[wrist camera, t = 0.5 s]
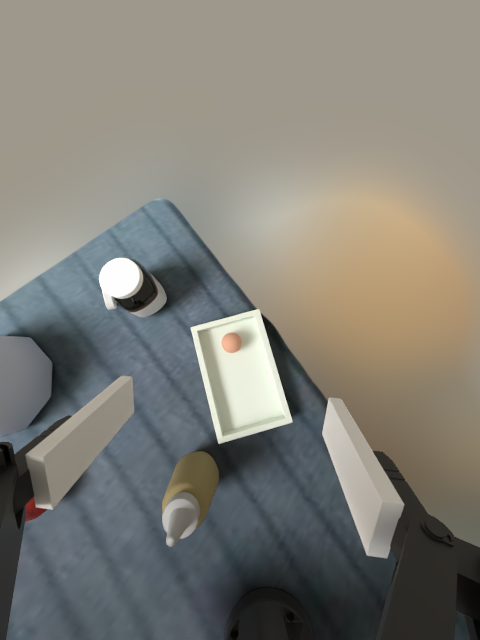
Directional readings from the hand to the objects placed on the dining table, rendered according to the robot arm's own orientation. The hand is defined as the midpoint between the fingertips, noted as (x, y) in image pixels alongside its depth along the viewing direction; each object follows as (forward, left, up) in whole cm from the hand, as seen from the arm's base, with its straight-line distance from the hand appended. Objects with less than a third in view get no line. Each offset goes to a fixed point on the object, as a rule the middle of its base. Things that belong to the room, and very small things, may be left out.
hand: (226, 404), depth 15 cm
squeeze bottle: (-15, +11, -32) cm, 37 cm away
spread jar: (+21, +16, -32) cm, 42 cm away
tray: (0, -1, -32) cm, 32 cm away
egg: (+6, -1, -31) cm, 32 cm away
